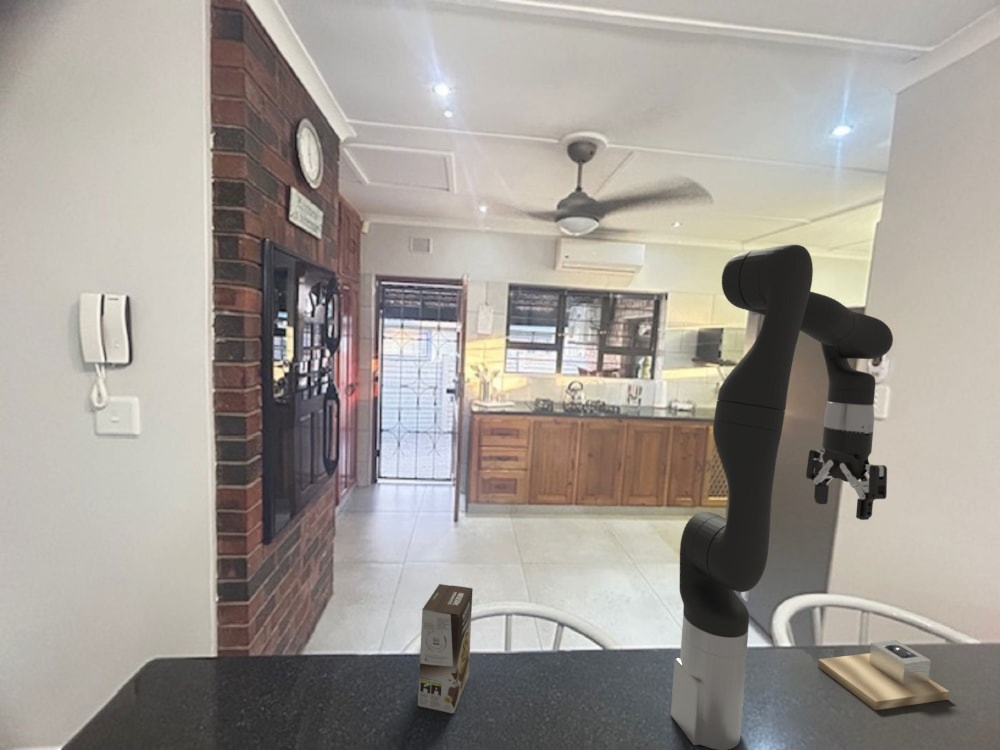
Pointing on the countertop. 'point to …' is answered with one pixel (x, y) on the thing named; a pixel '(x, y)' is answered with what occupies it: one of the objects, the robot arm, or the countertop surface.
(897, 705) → the plate
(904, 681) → the steel link
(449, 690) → the coffee box
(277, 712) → the countertop surface
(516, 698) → the countertop surface
